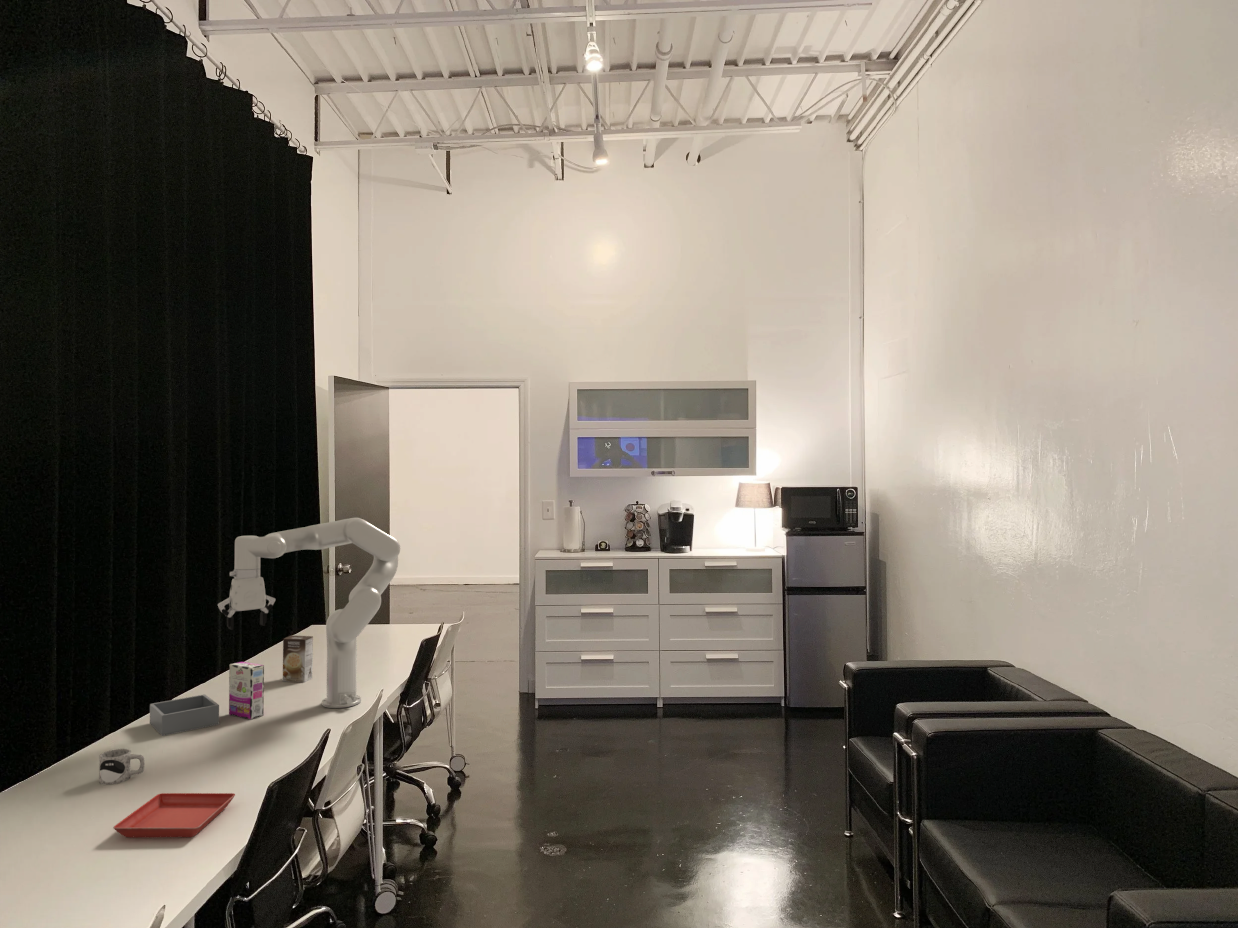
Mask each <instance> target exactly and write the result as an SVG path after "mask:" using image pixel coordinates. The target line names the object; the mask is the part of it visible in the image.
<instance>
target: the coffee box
mask: <svg viewBox="0 0 1238 928" xmlns="http://www.w3.org/2000/svg"><path fill="white" fill-rule="evenodd" d="M282 641H283V642H282V643H283V644H282V682H293V683H297V682H298V683H306V682H307V681H309V680H312V678H313V659H314V658H313V657H314V656H313V655H314V653H313V652H314V644H313V643H314V636H312V635H295V634H294V635H292V634H291V635H288V636H286V637H285V638H283V639H282Z"/></svg>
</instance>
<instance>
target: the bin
mask: <svg viewBox="0 0 1238 928" xmlns="http://www.w3.org/2000/svg"><path fill="white" fill-rule="evenodd" d="M149 725H150V726H152V727H153V728H154V730H156V732H157V733H158V734H159V735H161V737H164V736H169V735H173V734H177V733H183V732H189V731H193V730H197V729H203V728H209V727H212V726H218V725H220V704H219V703H217V702H216V701H214V700H213V699H212V698H210V696H208V695H207V694H198V695H194V696H188V697H181V698H175V699H171V700H165V701H160V702H159V701H158V702H154V703H149Z"/></svg>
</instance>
